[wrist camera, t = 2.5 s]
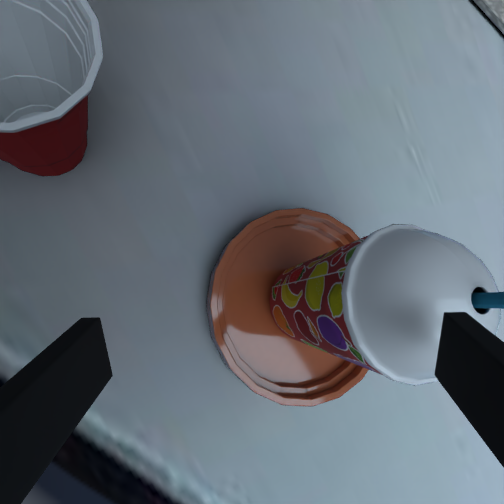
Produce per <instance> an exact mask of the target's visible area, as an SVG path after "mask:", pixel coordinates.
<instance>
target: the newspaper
mask: <svg viewBox="0 0 504 504" xmlns="http://www.w3.org/2000/svg"><path fill="white" fill-rule="evenodd" d="M473 1H474V2H475V3H476V4H477V5H478V6H479V7H480V8H481V9H482V11H483V12H484V13H485V14H486V15H487V16H488V17H489V18H490V19H491V21H492V22H493V23H494V24H495V25H496V26H497V27H498V28H499V29H500V31H501V32H502V33H503V34H504V0H473Z"/></svg>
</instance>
